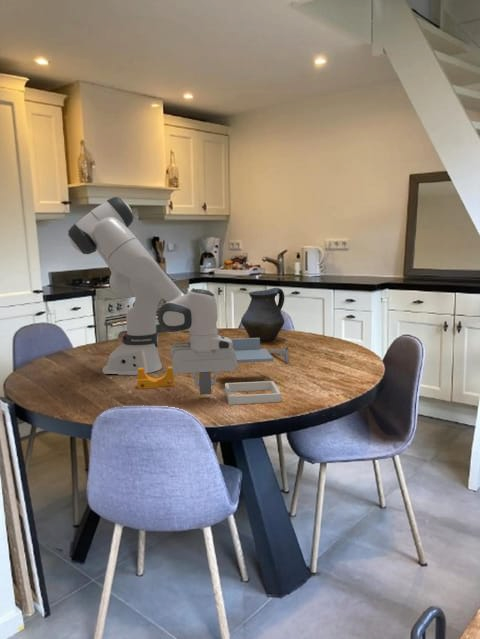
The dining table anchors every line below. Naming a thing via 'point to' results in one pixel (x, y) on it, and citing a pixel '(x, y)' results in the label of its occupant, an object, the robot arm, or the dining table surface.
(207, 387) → the dark grey block
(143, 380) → the pipe clamp
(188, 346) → the robot arm
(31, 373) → the dining table surface
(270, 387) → the frame
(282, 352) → the caliper
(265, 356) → the lid
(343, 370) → the dining table surface
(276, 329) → the pitcher
